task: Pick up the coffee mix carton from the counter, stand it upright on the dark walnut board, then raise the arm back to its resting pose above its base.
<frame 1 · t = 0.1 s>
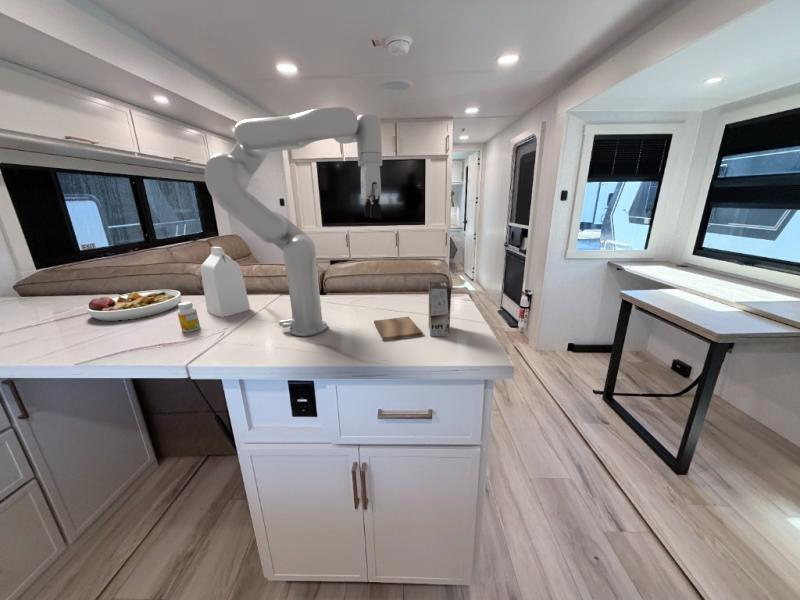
hand: (372, 217, 100), 37 cm above the countertop, tool pointing down, fingers open, 9 cm apart
supplement bottle: (191, 329, 107), on the countertop
milk: (229, 310, 126), on the countertop
plate of food: (140, 311, 128), on the countertop
coffee box: (438, 331, 102), on the countertop
walnut board: (396, 329, 104), on the countertop
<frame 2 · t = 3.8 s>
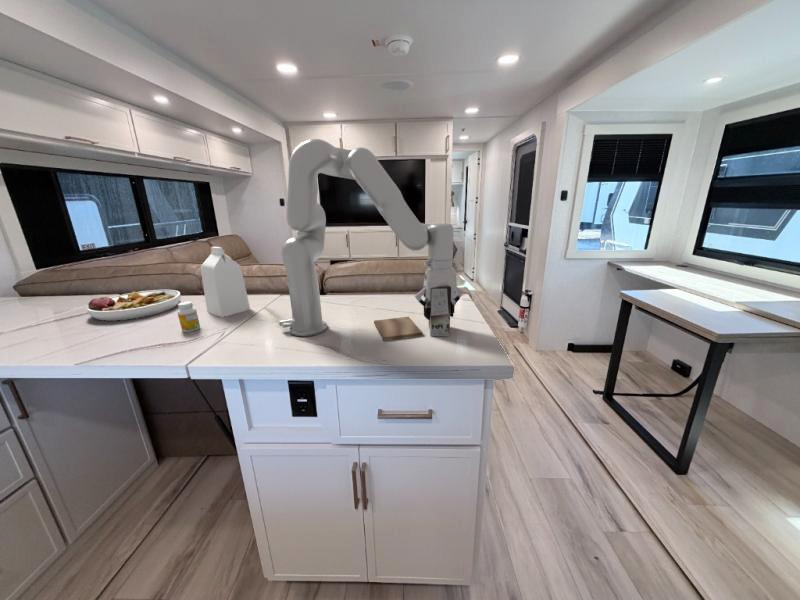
hand: (438, 316, 100), 5 cm above the countertop, tool pointing down, fingers closed on coffee box, 7 cm apart
coffee box: (438, 331, 102), on the countertop, touching gripper
everything else where it was.
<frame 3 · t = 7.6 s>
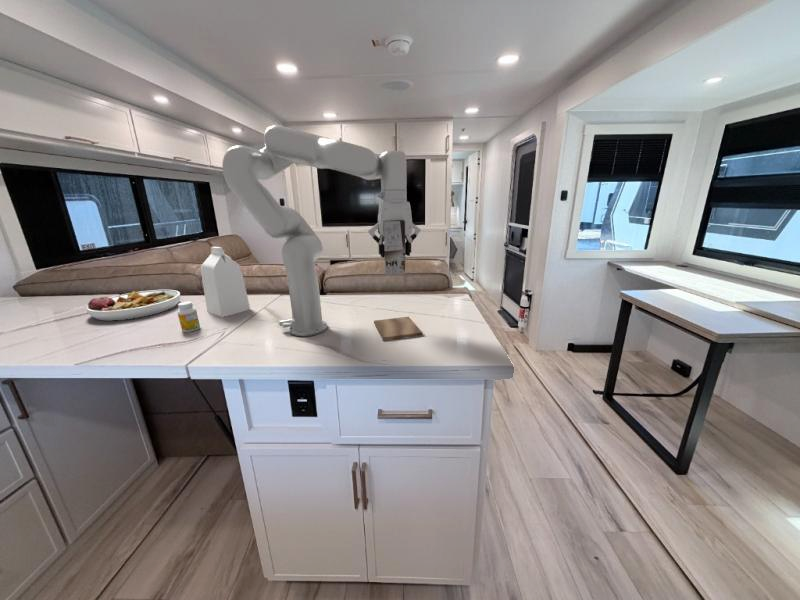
hand: (395, 255, 96), 25 cm above the countertop, tool pointing down, fingers closed on coffee box, 7 cm apart
coffee box: (395, 272, 98), point 20 cm above the countertop, touching gripper
everything else where it was.
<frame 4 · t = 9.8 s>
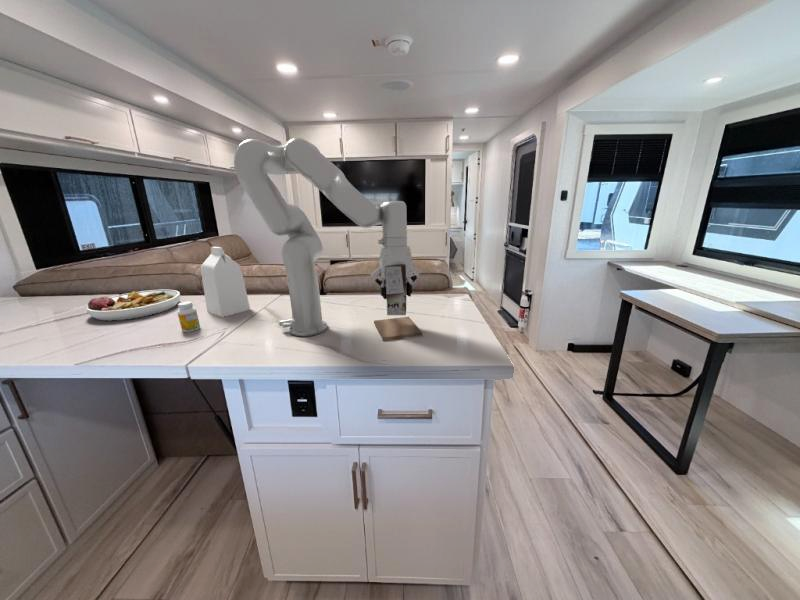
hand: (396, 296, 100), 12 cm above the countertop, tool pointing down, fingers closed on coffee box, 7 cm apart
coffee box: (397, 311, 102), point 7 cm above the countertop, touching gripper
everything else where it was.
when the fingers open (7 cm above the countertop, at t = 11.4 s): coffee box stays where it is, resting on walnut board.
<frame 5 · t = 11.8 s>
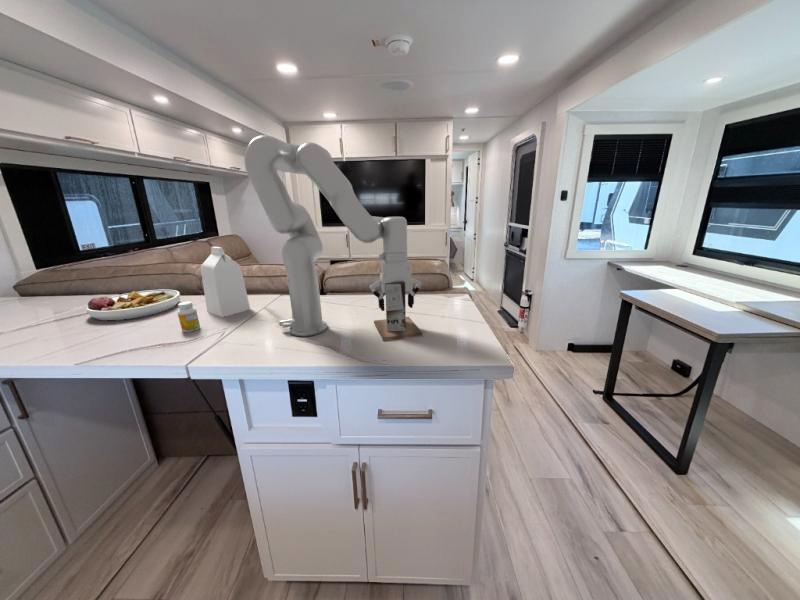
hand: (396, 308, 101), 8 cm above the countertop, tool pointing down, fingers open, 9 cm apart
coffee box: (396, 326, 103), point 1 cm above the countertop, touching walnut board
everything else where it was.
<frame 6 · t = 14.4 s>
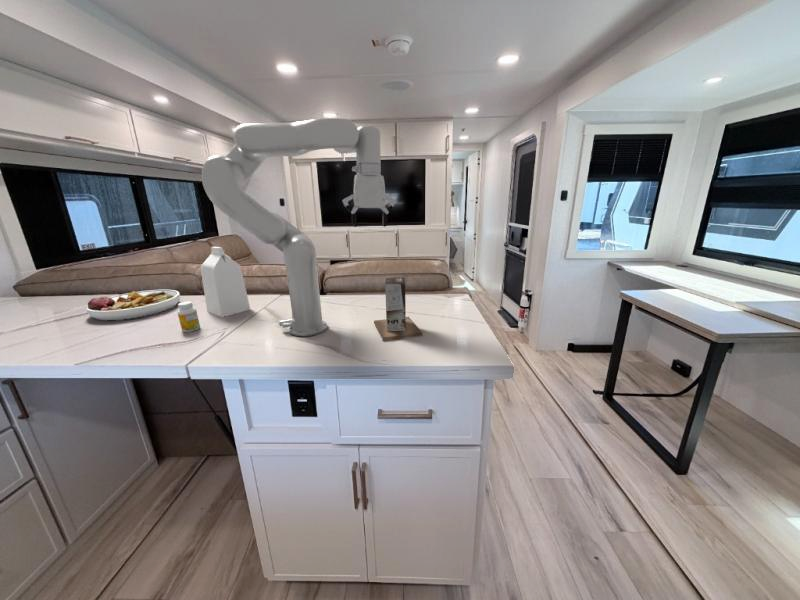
hand: (369, 226, 101), 34 cm above the countertop, tool pointing down, fingers open, 9 cm apart
nothing on the countertop moved.
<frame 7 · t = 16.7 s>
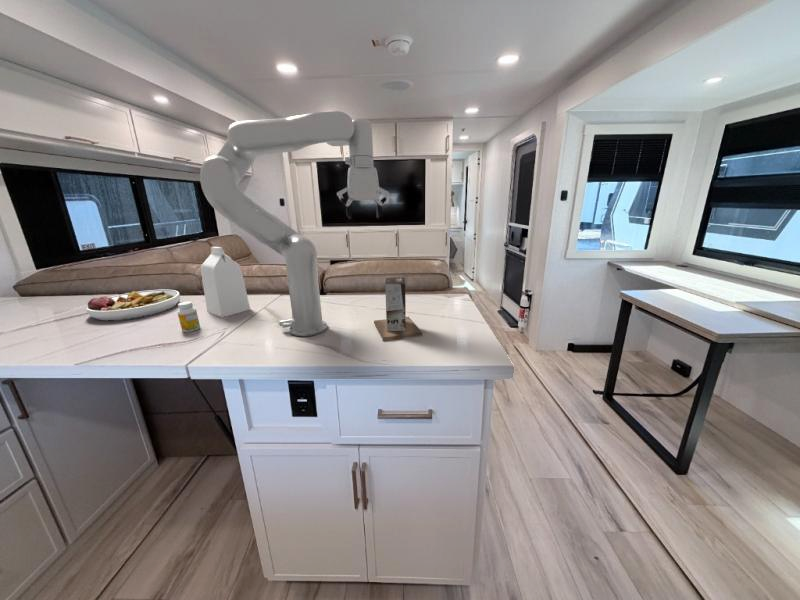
hand: (364, 218, 103), 36 cm above the countertop, tool pointing down, fingers open, 9 cm apart
nothing on the countertop moved.
at the end: coffee box inside the target area on the walnut board (0.2 cm from its centre), point 1.0 cm above the walnut board's base; coffee box tilted 0°; the gripper is holding nothing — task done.
